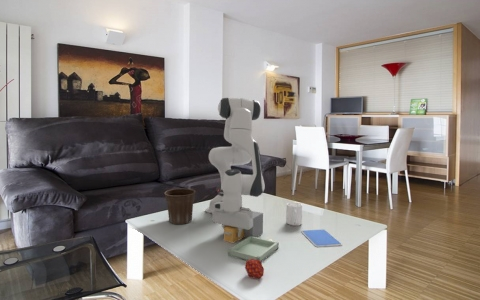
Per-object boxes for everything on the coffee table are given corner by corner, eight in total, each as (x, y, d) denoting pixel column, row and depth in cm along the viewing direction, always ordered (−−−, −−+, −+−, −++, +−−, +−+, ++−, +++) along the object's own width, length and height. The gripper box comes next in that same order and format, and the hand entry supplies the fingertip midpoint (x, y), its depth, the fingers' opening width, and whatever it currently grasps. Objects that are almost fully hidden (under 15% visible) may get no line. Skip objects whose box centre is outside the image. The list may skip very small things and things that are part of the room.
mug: (303, 228, 163) (304, 208, 162) (287, 228, 164) (287, 208, 163) (300, 221, 175) (301, 202, 174) (285, 220, 176) (285, 202, 175)
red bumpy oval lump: (254, 287, 110) (238, 271, 115) (266, 277, 115) (249, 263, 119) (259, 274, 108) (242, 259, 112) (271, 265, 112) (254, 250, 117)
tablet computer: (342, 246, 142) (343, 243, 141) (315, 248, 140) (315, 245, 139) (324, 231, 161) (324, 229, 160) (300, 233, 159) (300, 230, 158)
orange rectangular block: (222, 240, 146) (222, 228, 145) (239, 233, 156) (239, 220, 156) (231, 243, 143) (231, 230, 142) (247, 235, 153) (248, 222, 153)
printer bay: (223, 233, 156) (223, 212, 155) (234, 227, 164) (235, 208, 164) (252, 239, 148) (253, 218, 147) (262, 233, 156) (263, 213, 155)
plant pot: (181, 228, 162) (181, 196, 161) (158, 222, 171) (157, 192, 169) (201, 219, 176) (201, 190, 175) (179, 215, 185) (179, 187, 183)
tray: (228, 255, 130) (228, 249, 130) (250, 241, 146) (250, 236, 145) (258, 263, 123) (258, 257, 123) (278, 248, 138) (278, 242, 138)
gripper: (255, 207, 143) (255, 237, 145) (218, 201, 154) (218, 229, 155) (248, 210, 138) (248, 242, 139) (210, 203, 149) (210, 233, 150)
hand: (232, 235), depth 147 cm, fingers closed on orange rectangular block, 5 cm apart
